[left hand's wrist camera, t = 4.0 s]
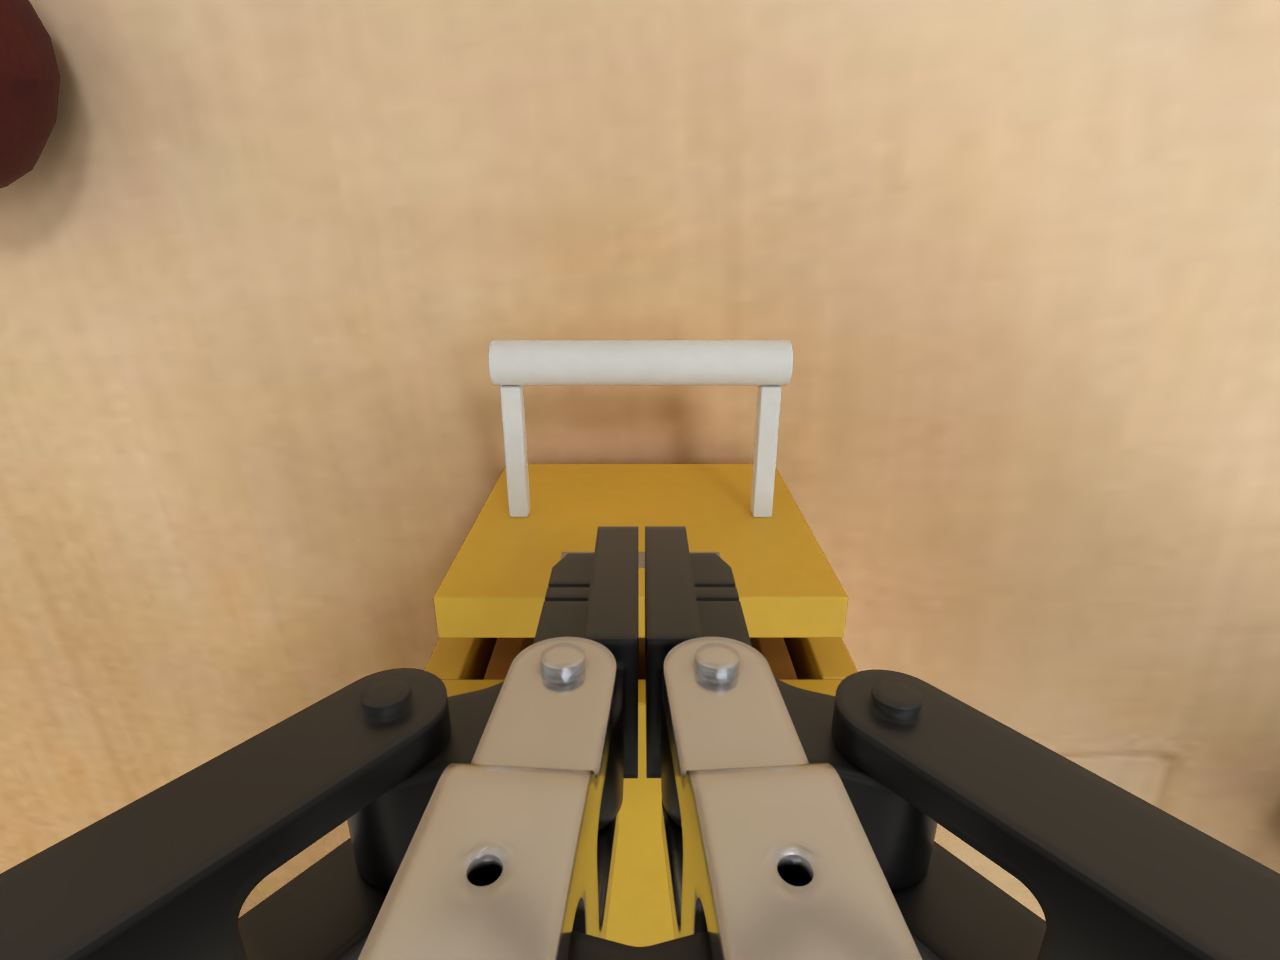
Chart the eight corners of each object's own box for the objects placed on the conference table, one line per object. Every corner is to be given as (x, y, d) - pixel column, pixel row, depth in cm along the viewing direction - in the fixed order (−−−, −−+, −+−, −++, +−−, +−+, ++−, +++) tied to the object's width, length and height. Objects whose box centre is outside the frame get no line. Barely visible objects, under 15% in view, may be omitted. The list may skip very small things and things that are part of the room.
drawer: (495, 317, 24) (405, 378, 15) (785, 317, 24) (876, 378, 15) (531, 811, 32) (488, 1049, 23) (748, 811, 32) (793, 1049, 23)
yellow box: (499, 510, 28) (406, 703, 17) (780, 510, 28) (875, 703, 17) (526, 851, 35) (472, 1153, 23) (753, 851, 35) (808, 1153, 23)
